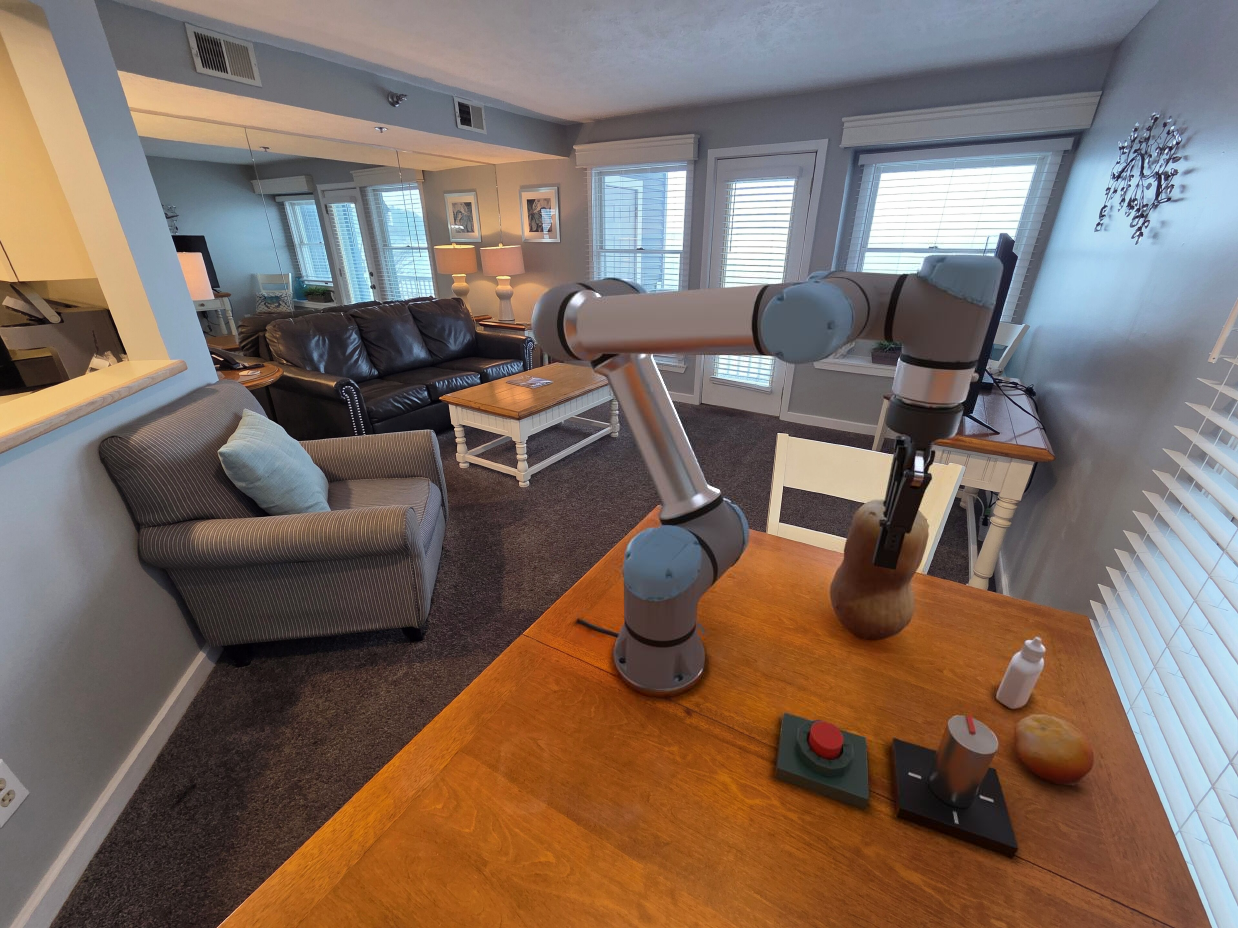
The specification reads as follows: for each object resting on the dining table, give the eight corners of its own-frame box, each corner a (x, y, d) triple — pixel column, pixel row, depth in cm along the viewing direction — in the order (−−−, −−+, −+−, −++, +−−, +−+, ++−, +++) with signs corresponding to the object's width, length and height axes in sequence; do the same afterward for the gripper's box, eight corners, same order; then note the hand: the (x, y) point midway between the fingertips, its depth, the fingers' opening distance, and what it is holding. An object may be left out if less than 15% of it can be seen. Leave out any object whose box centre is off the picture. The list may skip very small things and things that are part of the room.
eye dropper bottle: (1040, 708, 75) (1070, 649, 70) (1004, 710, 75) (1031, 650, 70) (1018, 684, 79) (1045, 626, 74) (984, 686, 79) (1008, 628, 74)
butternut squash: (918, 656, 85) (959, 531, 74) (838, 655, 85) (868, 531, 75) (881, 601, 97) (912, 487, 87) (812, 601, 98) (834, 487, 87)
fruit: (1112, 806, 61) (1089, 753, 60) (1031, 797, 66) (1009, 748, 65) (1098, 753, 67) (1078, 704, 66) (1026, 749, 72) (1006, 703, 71)
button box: (774, 778, 66) (778, 758, 65) (781, 721, 74) (785, 702, 72) (865, 810, 63) (871, 790, 61) (863, 747, 70) (868, 728, 68)
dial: (977, 814, 60) (1004, 758, 56) (930, 798, 62) (952, 742, 57) (968, 776, 64) (993, 721, 60) (924, 762, 66) (945, 707, 62)
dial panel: (896, 817, 62) (900, 806, 61) (890, 746, 70) (893, 736, 69) (1012, 858, 58) (1018, 847, 57) (991, 778, 66) (996, 767, 65)
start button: (807, 752, 66) (810, 742, 65) (809, 727, 69) (811, 717, 68) (840, 763, 64) (843, 753, 63) (840, 737, 68) (843, 726, 67)
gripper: (977, 420, 51) (921, 601, 61) (954, 386, 62) (909, 544, 72) (896, 412, 54) (854, 586, 64) (887, 381, 65) (853, 534, 75)
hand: (883, 564), depth 68 cm, fingers closed
